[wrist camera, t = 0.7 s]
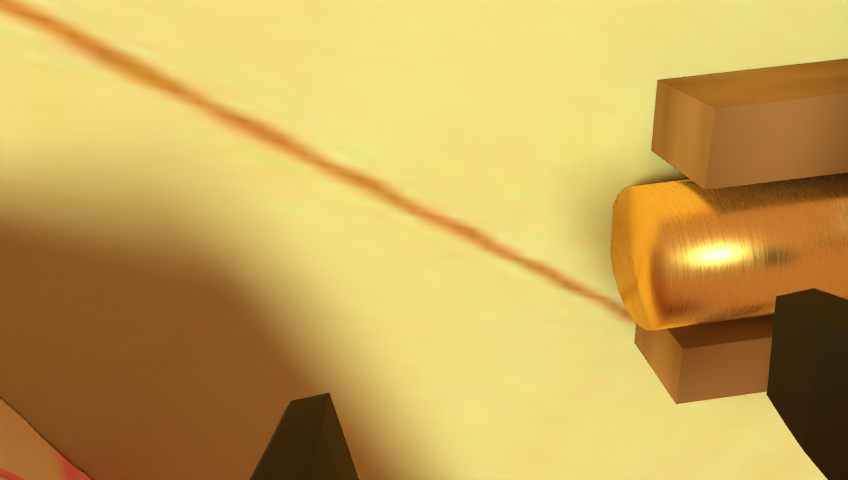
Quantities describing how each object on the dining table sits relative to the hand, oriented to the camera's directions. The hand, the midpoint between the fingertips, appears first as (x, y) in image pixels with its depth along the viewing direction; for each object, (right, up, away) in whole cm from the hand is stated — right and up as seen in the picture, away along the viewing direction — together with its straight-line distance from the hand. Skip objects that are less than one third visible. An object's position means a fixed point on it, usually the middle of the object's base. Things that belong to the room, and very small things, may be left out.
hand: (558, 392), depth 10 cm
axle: (+9, +3, +7) cm, 12 cm away
